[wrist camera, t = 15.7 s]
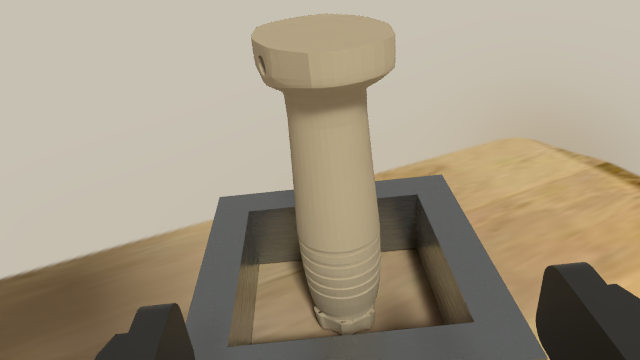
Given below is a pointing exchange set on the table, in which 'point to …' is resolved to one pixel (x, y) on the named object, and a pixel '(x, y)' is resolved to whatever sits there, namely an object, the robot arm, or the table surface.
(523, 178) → the table surface
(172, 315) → the robot arm
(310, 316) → the table surface
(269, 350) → the housing
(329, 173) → the handle
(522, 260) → the table surface
